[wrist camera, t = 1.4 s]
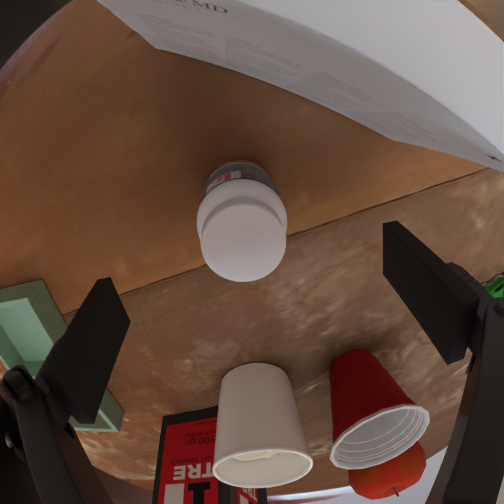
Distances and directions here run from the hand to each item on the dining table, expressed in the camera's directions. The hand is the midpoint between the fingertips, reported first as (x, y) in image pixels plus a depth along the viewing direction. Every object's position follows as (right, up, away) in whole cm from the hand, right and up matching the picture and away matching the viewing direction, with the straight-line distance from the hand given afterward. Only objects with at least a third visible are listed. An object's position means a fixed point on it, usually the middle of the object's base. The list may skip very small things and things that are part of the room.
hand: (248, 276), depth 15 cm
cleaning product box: (-5, -27, +28) cm, 39 cm away
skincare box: (+3, +16, +7) cm, 18 cm away
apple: (+19, -26, +29) cm, 44 cm away
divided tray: (-26, -13, +19) cm, 34 cm away
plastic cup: (+12, -12, +22) cm, 28 cm away
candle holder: (0, -15, +22) cm, 27 cm away
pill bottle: (-1, +6, +12) cm, 13 cm away
